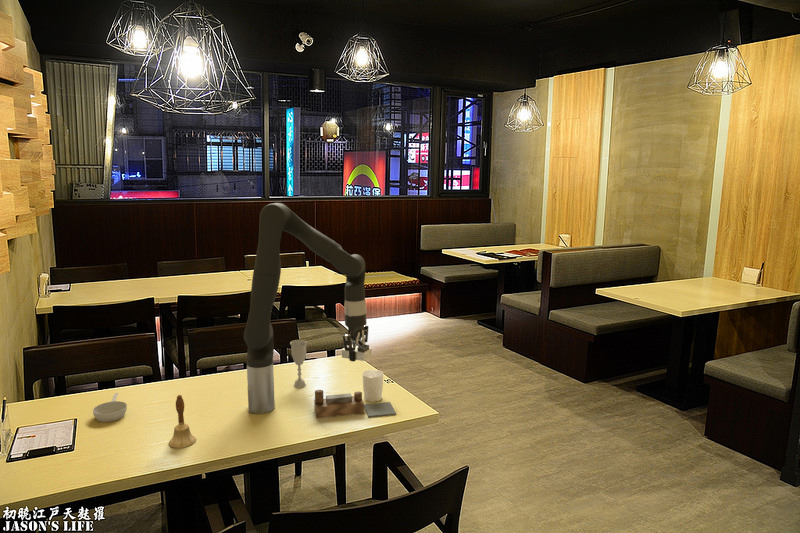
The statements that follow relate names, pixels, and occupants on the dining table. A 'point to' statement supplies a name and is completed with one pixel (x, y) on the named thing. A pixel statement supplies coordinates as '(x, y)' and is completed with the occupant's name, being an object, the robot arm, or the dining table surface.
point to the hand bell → (181, 429)
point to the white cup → (372, 385)
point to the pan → (110, 410)
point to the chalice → (299, 359)
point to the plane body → (338, 404)
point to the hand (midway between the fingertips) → (356, 358)
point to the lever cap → (359, 352)
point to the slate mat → (379, 409)
